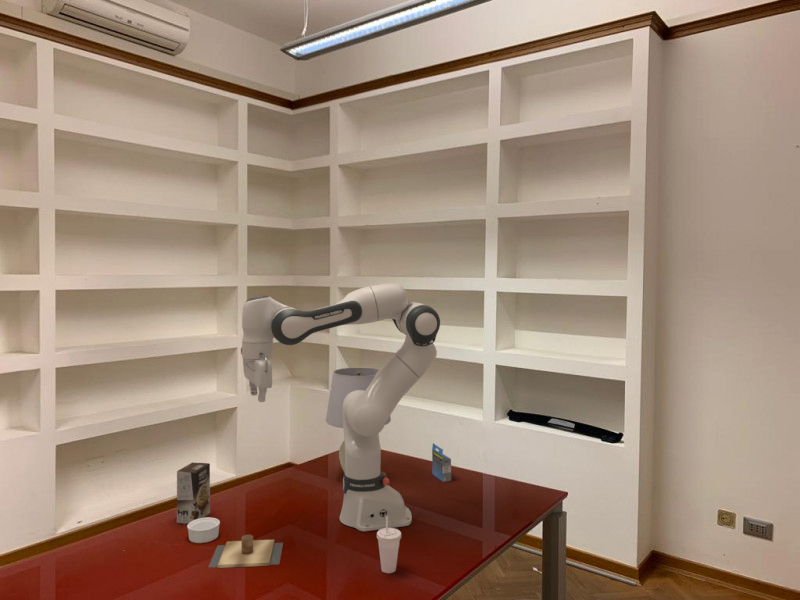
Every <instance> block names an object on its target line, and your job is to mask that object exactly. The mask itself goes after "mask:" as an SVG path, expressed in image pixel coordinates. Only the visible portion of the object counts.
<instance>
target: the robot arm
mask: <svg viewBox="0 0 800 600" xmlns="http://www.w3.org/2000/svg"><path fill="white" fill-rule="evenodd" d="M388 319H389V320H390V319H392V321H393V323H394V326H395V327H396V329H397V330H398V331H399V332H400V333H402V334H404V335H405V339H404V342H403V344H402V346H401V347H400V348H399V349H398V350H397V351H396V352H395V353H394V354H393V355H392V356H391V357H390V358H389V359H388V360H387V361H386V362H385V363H384V364H383V365H382V366H381V368H379V369H380V370H379V371H378V372H377V373H376V375H375V377H374V379H373V380H372V382H371V383H370V385H369V386H368V387H367V389H366V390H365V391H363V390H355V391H352V392H350V393H349V394H348V395H347V396H346V397H345V399H344V402H343V428H342V429H343V441H344V442H345V473H344V472H343V477H342V490H343V501H342V507H341V512H340V515H339V521H340V522H341V524H343V525H346V526H347V527H351V528H355V529H357V530H358V531H360V532H369V531H377V530H378V531H379V530H380V529H383V528H386V516H388V528H399V527H406V526H409V525H410V524H411V523H412V521H413V514H412V512H411V510H410V508H409V507H407V506H406V505H405V502H404V499H403V497H402V495H401V493H400V492H399V491H397V490H396V489H395V488H393V487H391V486H390V479H389V478H388V476H387V474H386V473H385V472H384V471H383V472H382V471H381V466H382V465H381V457H382V455H381V454H382V453H381V452H382V451H381V442H380V434H379V433H381V432H382V431H383V430H384V427H385V426H386V425H385V422H386V420H387V419H388V417H389V416H390V417H391V415H392V413H393V412H394V410H395V408H396V407H397V405H399V403H400V401H401V399H403V397H404V396H405V395H406V394H407V393H408V392H409V391H410V389H412V387H414V385H416V383H417V382H418V381H419V380H420V379H422V377H423V375H424V374H425V373H426V372H427V371H428V370H429V368H430V367H431V366H432V364H433V362H434V361H435V360H436V358H437V355H438V354H437V352H438V351H437V347H436V346H435V344H434V343H435V342H436V339H437V336H438V333H439V330H440V328H441V318H440V316H439V314H438V312H437V311H436V310H435V309H434V308H433V307H431V306H429V305H426V304H424V303H421V302H414V301H412V300H410V299H409V296H408V292H407V290H406V289H405V287H404V286H403V285H402V284H400V283H394V282H393V283H381V284H373V285H368V286H365V287H361V288H357V289H356V290H353V291H351V292H349V293H347V294H346V295H345V297H344V298H342V299H341V300H339V301H338V302H337V303H335V304H332V305H327V306H324V307H319V308H316V309H310V310H300V309H299V310H298V309H296V308H295V307H292V306H289V305H287V304H283V303H281V302H279V301H277V300H275V299H273V298H272V297H271V296H270V295H259V296H254V297H250V298H248V299H246V301H245V302H244V304H243V307H242V316H241V328H242V331H243V335H242V341H241V347H240V355H241V356H242V357H241V358H242V364H243V365H242V366H243V367H242V368H243V374H244V378H246V380H248V384H249V389H250V390H249V391H250V393H249V394H250V396H252V397H253V396H257V401H258V402H259V403H265V401H266V396H267V391H268V389H271V388H272V386H273V368H272V362H271V361H270V359H272V358H273V357H274V339H275V340H276V341H278V342H279V343H281V344H282V345H286V346H293V345H297V344H299V343H301V342H302V341H304V340H305V339H307V338H308V337H309V336H310V335H313V334H314V333H318V332H322V331H324V330H329V329H333V328H336V327H340V326H347V325H365V324H370V323H376V322H379V321H383V320H388Z"/></svg>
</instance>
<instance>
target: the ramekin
mask: <svg viewBox="0 0 800 600" xmlns="http://www.w3.org/2000/svg"><path fill="white" fill-rule="evenodd" d="M220 525H221V521H220V520H219V519H218V518H215V517H207V516H206V517H204V518H199V519H196V520H193V521H191V522H190V523H187V525H186V527H187V532H188V539H189V542H191V543H195V544H203V543H209V542H212V541H214V540H216V539H217V538H218V537H219V534H220V532H219V530H220Z"/></svg>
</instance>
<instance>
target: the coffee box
mask: <svg viewBox="0 0 800 600" xmlns="http://www.w3.org/2000/svg"><path fill="white" fill-rule="evenodd" d="M210 465H211V464H210V463H207V462H190V463H188V465H185V466H184V467H182V468H180V469H178V470H177V471H176V523H178V524H189V523H190V522H191V521H193V520H196V519H199V518H206V517H207V516H208V515H209V514H210V513H211V471H210V469H211V466H210Z"/></svg>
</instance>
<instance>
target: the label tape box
mask: <svg viewBox="0 0 800 600" xmlns="http://www.w3.org/2000/svg"><path fill="white" fill-rule="evenodd" d="M431 452H432V456H431V460H432V463H431V467H432V471H431V472H432V475H433V476H434V477H435V478H437V479H438V480H439V481H441V482H442V483H445V482H447V483H448V482H451V481H452V459H451V457H449V456H447V455H446V454H444V453H443V452H444V449H443V448H441V447H439V446H438V445H437V444H435V443H434V442H433V443H432V447H431Z"/></svg>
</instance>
